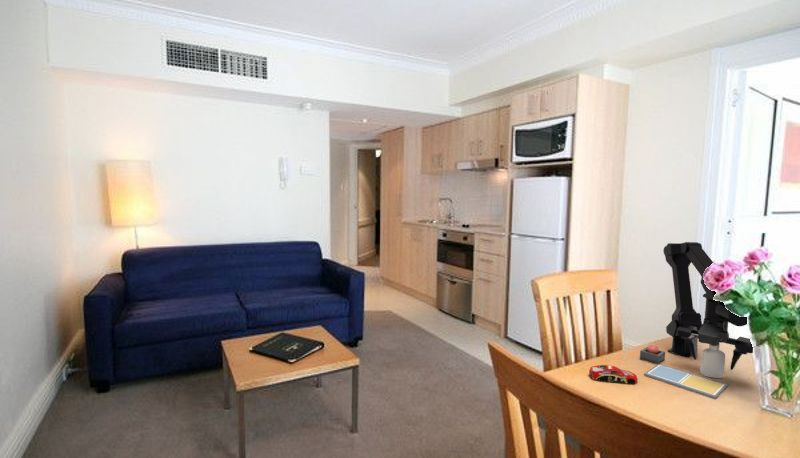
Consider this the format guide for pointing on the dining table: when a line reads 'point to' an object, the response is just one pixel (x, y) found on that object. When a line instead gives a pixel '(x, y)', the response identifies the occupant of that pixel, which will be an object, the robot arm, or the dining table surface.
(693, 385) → the grey flat rectangular board
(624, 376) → the race car
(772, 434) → the dining table surface
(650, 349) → the button
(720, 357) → the eye dropper bottle
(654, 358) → the button housing
